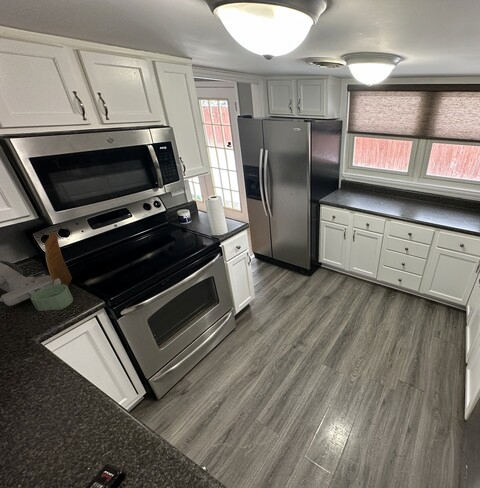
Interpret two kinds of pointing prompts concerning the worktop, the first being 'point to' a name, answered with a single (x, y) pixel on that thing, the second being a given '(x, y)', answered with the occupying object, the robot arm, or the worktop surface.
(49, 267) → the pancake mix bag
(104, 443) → the worktop surface
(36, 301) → the bowl
